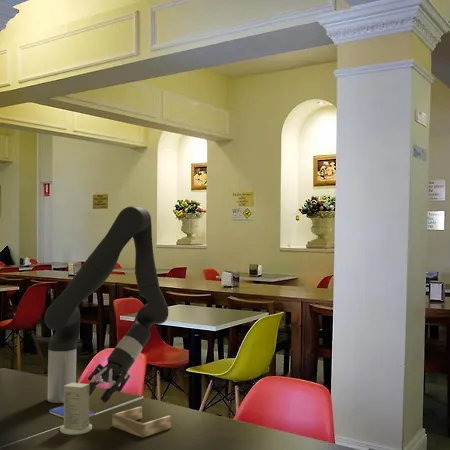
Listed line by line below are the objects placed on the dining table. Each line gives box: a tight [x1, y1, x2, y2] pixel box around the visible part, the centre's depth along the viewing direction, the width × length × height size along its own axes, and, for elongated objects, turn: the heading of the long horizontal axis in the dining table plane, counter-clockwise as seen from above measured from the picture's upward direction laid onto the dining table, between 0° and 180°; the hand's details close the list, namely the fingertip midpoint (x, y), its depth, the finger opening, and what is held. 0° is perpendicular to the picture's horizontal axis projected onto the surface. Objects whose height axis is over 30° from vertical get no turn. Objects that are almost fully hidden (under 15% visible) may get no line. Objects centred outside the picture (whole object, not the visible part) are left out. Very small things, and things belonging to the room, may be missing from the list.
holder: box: [111, 405, 172, 438], centre depth 165 cm, size 11×14×4 cm
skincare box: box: [63, 382, 90, 430], centre depth 162 cm, size 6×4×12 cm
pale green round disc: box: [59, 423, 93, 436], centre depth 162 cm, size 9×9×1 cm
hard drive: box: [49, 405, 96, 419], centre depth 176 cm, size 2×8×12 cm
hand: (94, 398), depth 167 cm, fingers open, 8 cm apart
